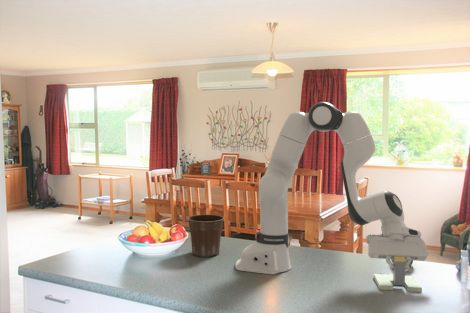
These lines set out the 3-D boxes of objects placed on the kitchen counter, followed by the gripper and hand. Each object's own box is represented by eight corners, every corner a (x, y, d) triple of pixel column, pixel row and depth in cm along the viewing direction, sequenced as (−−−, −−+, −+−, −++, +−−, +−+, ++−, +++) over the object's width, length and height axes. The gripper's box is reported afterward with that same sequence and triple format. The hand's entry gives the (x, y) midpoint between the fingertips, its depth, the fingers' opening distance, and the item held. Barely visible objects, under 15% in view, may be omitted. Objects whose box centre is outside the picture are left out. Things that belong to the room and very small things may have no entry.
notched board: (379, 289, 150) (379, 285, 150) (373, 277, 162) (373, 273, 162) (421, 291, 148) (421, 287, 148) (412, 279, 160) (412, 275, 160)
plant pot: (187, 248, 199) (187, 214, 198) (222, 247, 201) (222, 213, 200) (187, 259, 183) (187, 221, 182) (225, 258, 185) (225, 221, 184)
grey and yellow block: (395, 284, 150) (396, 258, 149) (393, 281, 153) (393, 256, 153) (404, 284, 150) (405, 259, 149) (402, 281, 153) (403, 256, 152)
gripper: (366, 229, 159) (370, 263, 150) (425, 231, 156) (432, 266, 147) (364, 238, 163) (367, 271, 154) (421, 240, 160) (427, 275, 151)
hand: (399, 269), depth 150 cm, fingers open, 3 cm apart
